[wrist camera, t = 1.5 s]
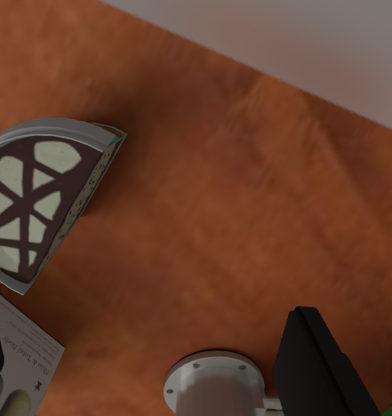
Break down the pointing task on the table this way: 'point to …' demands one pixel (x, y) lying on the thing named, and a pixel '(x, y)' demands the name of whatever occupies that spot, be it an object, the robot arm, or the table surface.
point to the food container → (47, 188)
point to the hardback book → (387, 412)
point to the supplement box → (24, 362)
